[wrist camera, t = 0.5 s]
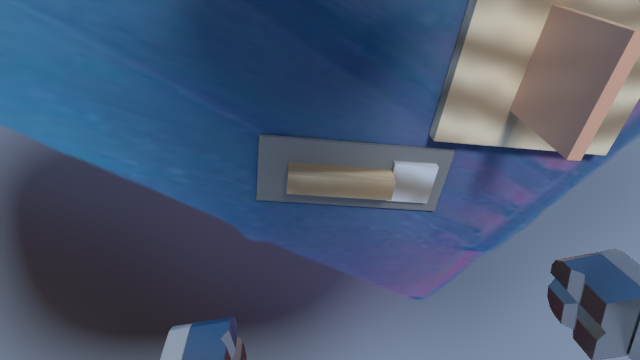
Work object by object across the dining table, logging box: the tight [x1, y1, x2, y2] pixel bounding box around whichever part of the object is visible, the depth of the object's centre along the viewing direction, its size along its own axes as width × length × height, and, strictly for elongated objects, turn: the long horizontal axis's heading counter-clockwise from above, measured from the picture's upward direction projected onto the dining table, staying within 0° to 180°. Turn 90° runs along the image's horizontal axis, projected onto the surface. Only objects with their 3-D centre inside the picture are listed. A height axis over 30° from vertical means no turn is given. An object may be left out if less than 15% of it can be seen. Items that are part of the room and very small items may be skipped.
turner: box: [287, 160, 439, 203], centre depth 53 cm, size 6×20×3 cm, turn 83°
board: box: [429, 0, 640, 155], centre depth 46 cm, size 22×24×2 cm
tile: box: [510, 5, 640, 161], centre depth 40 cm, size 12×2×12 cm, turn 173°
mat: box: [256, 134, 455, 211], centre depth 54 cm, size 10×26×1 cm, turn 83°
